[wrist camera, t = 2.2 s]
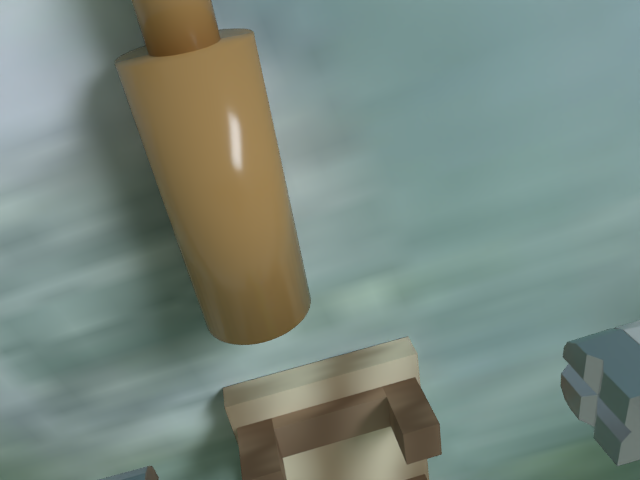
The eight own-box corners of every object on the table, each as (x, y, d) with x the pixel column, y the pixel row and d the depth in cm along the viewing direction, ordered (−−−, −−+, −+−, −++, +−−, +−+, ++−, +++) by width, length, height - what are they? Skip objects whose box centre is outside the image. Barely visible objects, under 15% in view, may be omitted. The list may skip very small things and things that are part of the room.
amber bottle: (250, -141, 17) (107, -128, 14) (332, 295, 25) (255, 360, 22) (160, -114, 20) (27, -99, 17) (260, 266, 29) (185, 320, 26)
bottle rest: (408, 336, 32) (442, 399, 27) (423, 491, 39) (452, 559, 35) (222, 388, 31) (229, 461, 26) (276, 537, 38) (287, 612, 34)
